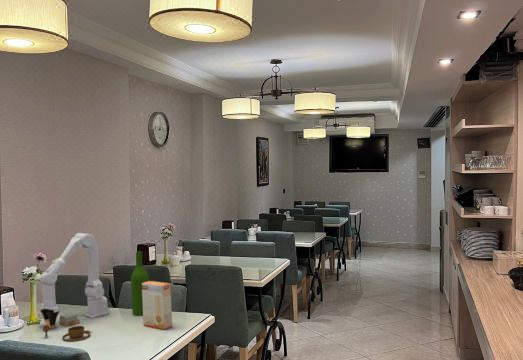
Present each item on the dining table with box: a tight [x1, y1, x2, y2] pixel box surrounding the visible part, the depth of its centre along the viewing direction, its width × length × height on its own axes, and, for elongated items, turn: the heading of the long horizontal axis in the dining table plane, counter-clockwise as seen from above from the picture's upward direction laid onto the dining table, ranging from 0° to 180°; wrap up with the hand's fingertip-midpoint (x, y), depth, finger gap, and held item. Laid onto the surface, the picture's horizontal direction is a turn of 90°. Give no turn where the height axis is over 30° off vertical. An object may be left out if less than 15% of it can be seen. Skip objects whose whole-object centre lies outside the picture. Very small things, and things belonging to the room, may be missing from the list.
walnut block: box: [58, 318, 80, 328], centre depth 245 cm, size 7×7×2 cm
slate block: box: [59, 312, 79, 323], centre depth 245 cm, size 6×6×2 cm
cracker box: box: [142, 280, 173, 331], centre depth 236 cm, size 14×6×21 cm, turn 55°
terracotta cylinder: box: [44, 318, 56, 330], centre depth 241 cm, size 4×4×4 cm
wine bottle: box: [130, 250, 150, 317], centre depth 259 cm, size 9×9×32 cm
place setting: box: [42, 325, 93, 343], centre depth 227 cm, size 18×20×6 cm
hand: (50, 324), depth 241 cm, fingers closed on terracotta cylinder, 4 cm apart
